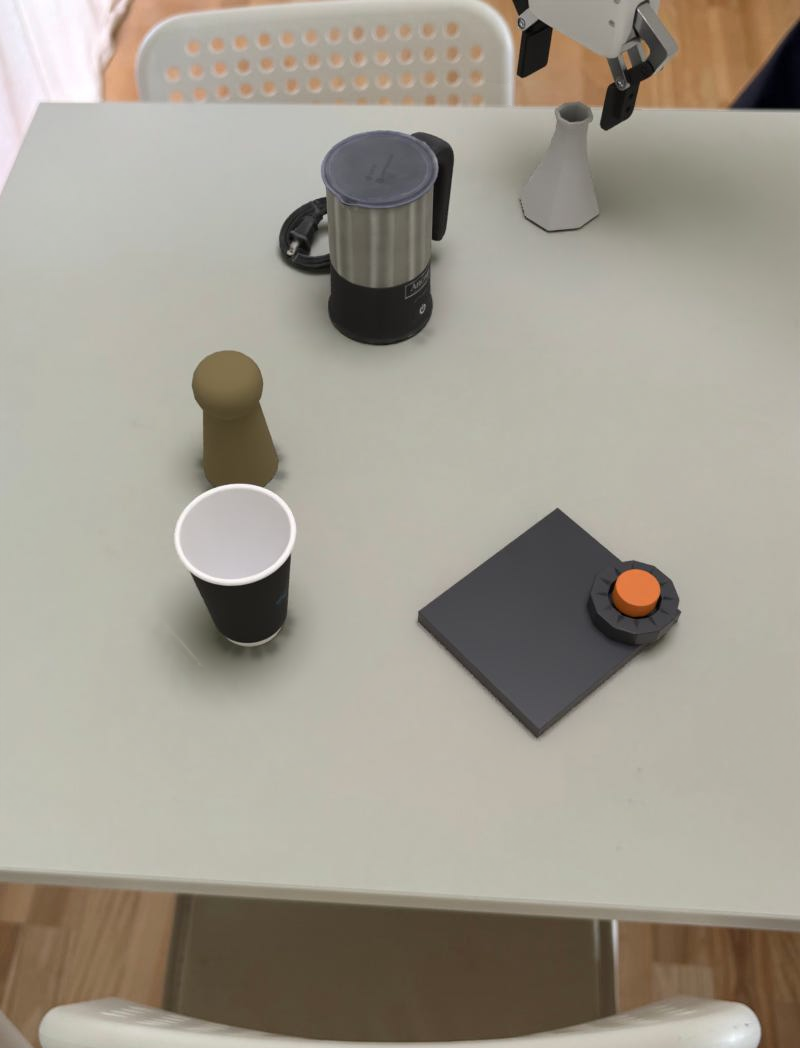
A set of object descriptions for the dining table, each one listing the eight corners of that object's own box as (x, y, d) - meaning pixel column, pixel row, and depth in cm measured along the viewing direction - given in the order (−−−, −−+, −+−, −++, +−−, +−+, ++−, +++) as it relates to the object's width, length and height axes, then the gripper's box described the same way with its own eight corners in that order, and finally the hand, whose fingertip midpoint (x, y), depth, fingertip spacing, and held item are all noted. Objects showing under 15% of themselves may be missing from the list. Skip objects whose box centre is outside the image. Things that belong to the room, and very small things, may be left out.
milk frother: (415, 356, 94) (421, 214, 81) (242, 320, 97) (222, 178, 85) (458, 247, 101) (469, 102, 89) (296, 217, 104) (285, 72, 92)
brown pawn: (235, 506, 86) (217, 413, 77) (188, 462, 88) (165, 366, 79) (294, 464, 88) (284, 368, 79) (246, 422, 90) (231, 325, 81)
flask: (505, 196, 105) (516, 101, 96) (572, 174, 106) (588, 78, 98) (543, 242, 101) (558, 147, 92) (612, 218, 102) (633, 123, 94)
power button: (632, 573, 78) (636, 561, 76) (665, 601, 76) (670, 589, 75) (602, 597, 77) (606, 585, 75) (635, 625, 75) (639, 613, 74)
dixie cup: (325, 634, 79) (318, 548, 70) (226, 685, 77) (206, 603, 68) (273, 555, 83) (260, 464, 74) (178, 602, 81) (153, 514, 72)
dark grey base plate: (559, 514, 84) (564, 491, 81) (686, 622, 78) (696, 600, 76) (417, 621, 79) (418, 599, 77) (541, 743, 74) (547, 724, 71)
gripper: (739, -89, 77) (680, 125, 91) (560, -175, 85) (531, 36, 99) (667, -51, 75) (617, 164, 89) (489, -142, 82) (470, 69, 97)
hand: (572, 96), depth 94 cm, fingers open, 9 cm apart
